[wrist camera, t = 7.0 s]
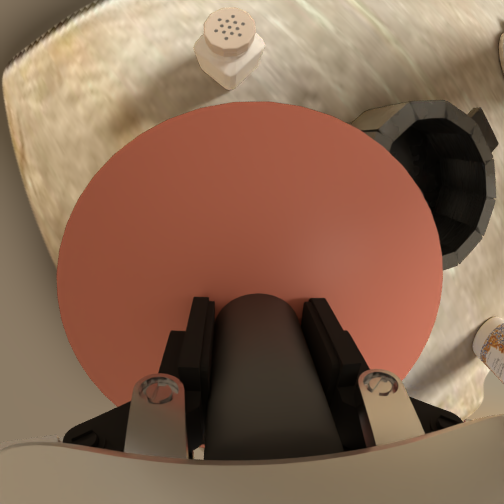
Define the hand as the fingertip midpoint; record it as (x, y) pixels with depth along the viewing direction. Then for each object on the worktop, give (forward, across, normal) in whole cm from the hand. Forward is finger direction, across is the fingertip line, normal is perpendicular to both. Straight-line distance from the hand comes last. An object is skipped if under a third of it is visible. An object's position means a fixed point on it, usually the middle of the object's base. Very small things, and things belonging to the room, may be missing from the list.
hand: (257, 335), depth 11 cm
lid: (+3, 0, 0) cm, 3 cm away
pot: (+19, -15, -5) cm, 24 cm away
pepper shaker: (+19, +2, -14) cm, 24 cm away
